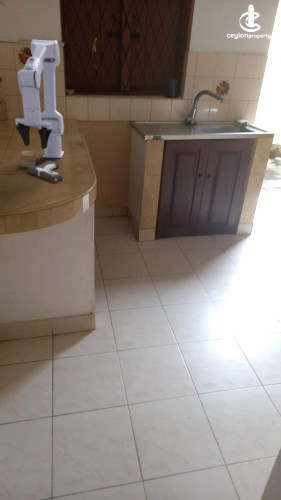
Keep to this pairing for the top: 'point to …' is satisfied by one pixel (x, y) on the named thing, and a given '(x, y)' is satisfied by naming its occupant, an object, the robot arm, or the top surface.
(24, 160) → the walnut cube
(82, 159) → the top surface
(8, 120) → the top surface
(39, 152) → the top surface
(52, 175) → the handgun
